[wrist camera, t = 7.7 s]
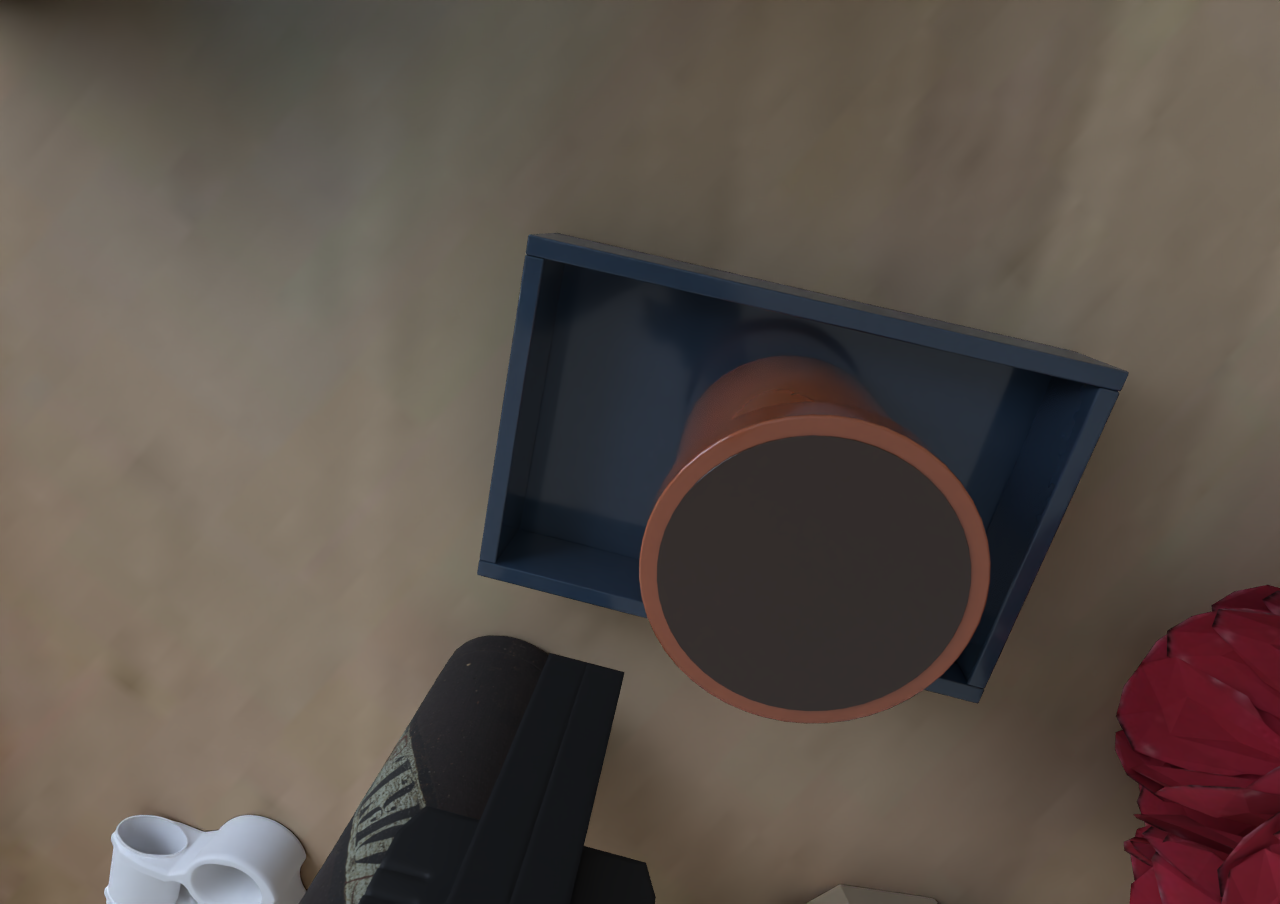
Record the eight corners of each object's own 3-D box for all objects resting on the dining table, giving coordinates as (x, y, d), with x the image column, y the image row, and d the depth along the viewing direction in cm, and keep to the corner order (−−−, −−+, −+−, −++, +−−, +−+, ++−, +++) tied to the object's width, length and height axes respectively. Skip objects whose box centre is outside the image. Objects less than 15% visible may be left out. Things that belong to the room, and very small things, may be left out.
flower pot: (544, 327, 23) (1015, 502, 16) (758, 323, 36) (1082, 421, 28) (500, 602, 27) (866, 855, 19) (709, 513, 39) (984, 646, 31)
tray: (556, 232, 32) (527, 234, 28) (1074, 350, 31) (1130, 372, 26) (506, 533, 37) (476, 574, 33) (948, 646, 36) (978, 704, 32)
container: (526, 605, 38) (325, 976, 19) (615, 727, 40) (510, 1176, 21) (408, 667, 41) (126, 1053, 22) (497, 780, 42) (308, 1226, 24)
